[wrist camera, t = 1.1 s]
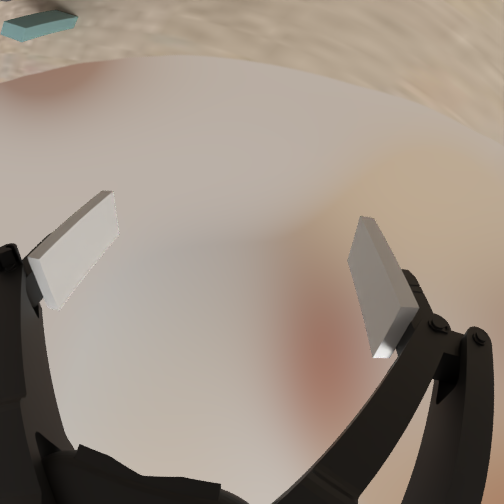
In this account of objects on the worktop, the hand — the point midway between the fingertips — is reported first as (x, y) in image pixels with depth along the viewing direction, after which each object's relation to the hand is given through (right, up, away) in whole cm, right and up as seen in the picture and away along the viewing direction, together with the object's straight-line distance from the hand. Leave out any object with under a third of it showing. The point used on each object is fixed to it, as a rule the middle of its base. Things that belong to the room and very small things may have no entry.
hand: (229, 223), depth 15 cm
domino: (-24, +30, +8) cm, 40 cm away
